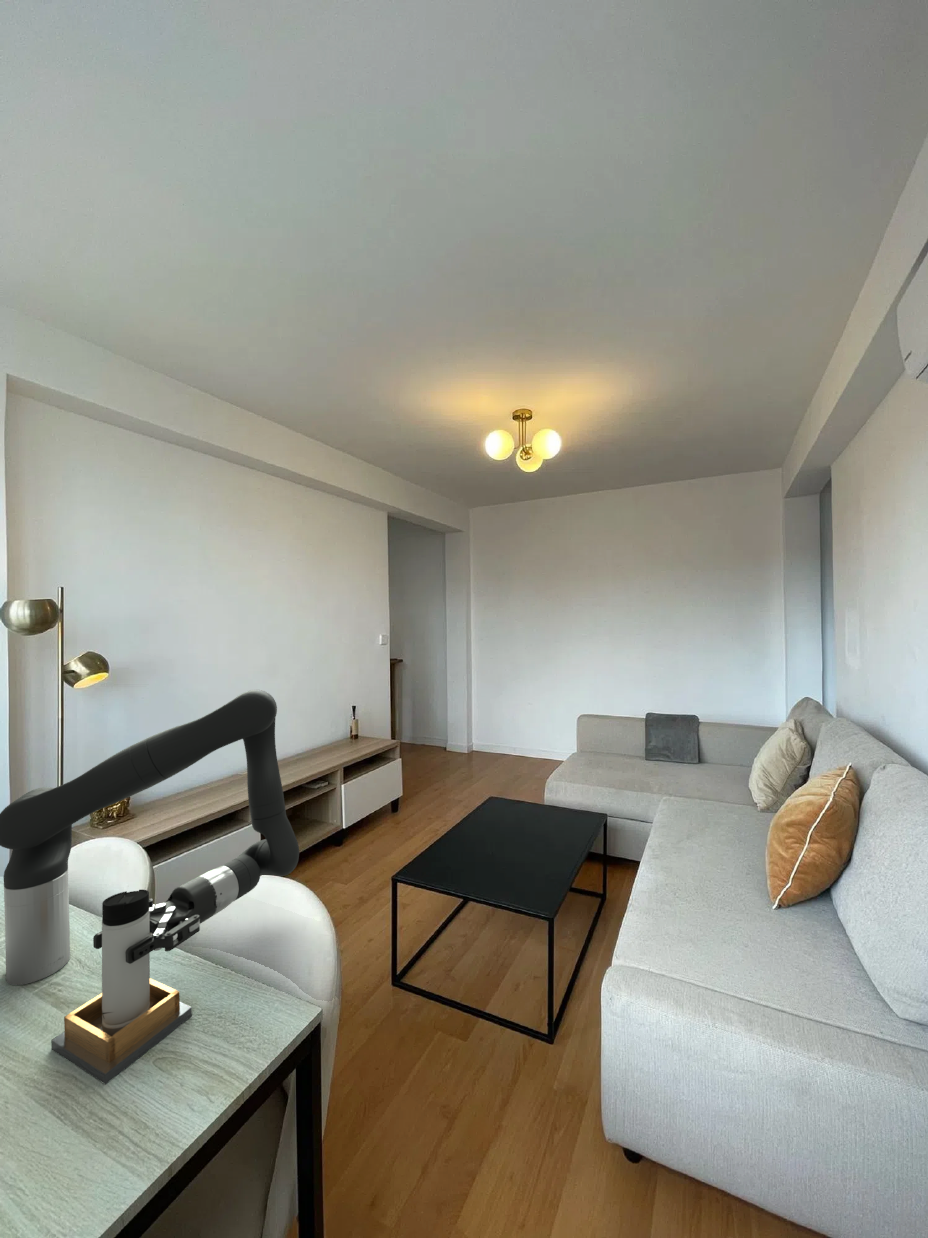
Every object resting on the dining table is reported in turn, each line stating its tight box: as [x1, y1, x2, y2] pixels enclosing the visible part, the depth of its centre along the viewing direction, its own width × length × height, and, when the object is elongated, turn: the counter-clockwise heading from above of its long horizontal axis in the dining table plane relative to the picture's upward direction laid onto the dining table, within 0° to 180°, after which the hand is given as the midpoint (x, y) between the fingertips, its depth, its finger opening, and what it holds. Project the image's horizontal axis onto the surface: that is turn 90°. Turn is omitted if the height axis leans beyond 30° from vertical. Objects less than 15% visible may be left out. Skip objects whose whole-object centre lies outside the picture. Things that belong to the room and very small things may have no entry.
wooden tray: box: [50, 978, 193, 1085], centre depth 78 cm, size 14×13×4 cm
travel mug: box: [101, 889, 151, 1035], centre depth 78 cm, size 6×7×20 cm
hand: (110, 950), depth 76 cm, fingers open, 8 cm apart
